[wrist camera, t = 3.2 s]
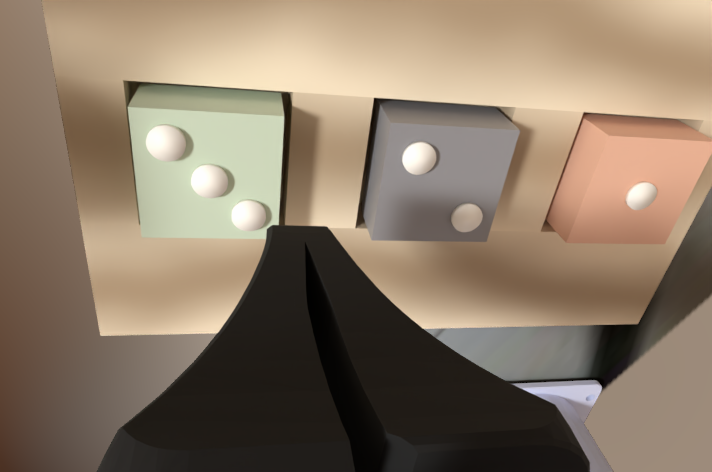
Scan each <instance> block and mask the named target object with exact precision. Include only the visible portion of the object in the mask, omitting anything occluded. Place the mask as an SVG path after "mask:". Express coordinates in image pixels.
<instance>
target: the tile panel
mask: <svg viewBox="0 0 712 472" xmlns="http://www.w3.org/2000/svg"><path fill="white" fill-rule="evenodd" d="M41 2H42V7H43V13H44V19H45V24H46V30H47V35H48V41H49V46H50V53H51V58H52V63H53V70H54V75H55V80H56V87H57V92H58V98H59V104H60V109H61V114H62V121H63V126H64V132H65V138H66V143H67V149H68V154H69V160H70V166H71V171H72V177H73V183H74V188H75V194H76V200H77V205H78V211H79V216H80V222H81V228H82V233H83V239H84V245H85V251H86V256H87V261H88V267H89V273H90V279H91V284H92V290H93V296H94V301H95V307H96V312H97V318H98V324H99V330H100V335H101V336H109V335H155V334H198V333H199V334H200V333H201V334H202V333H218V332H219V331H220V329H221V328H222V326H223V325H224V324H225V322H226V321H227V319H228V318H229V316H230V315H231V314H232V312H233V310H234V309H235V307H236V306H237V304H238V302H239V301H240V299H241V297H242V295H243V293H244V292H245V290H246V288H247V286H248V284H249V283H250V281H251V279H252V277H253V274H254V272H255V270H256V268H257V265H258V263H259V261H260V258H261V255H262V252H263V250H264V246H265V242H266V239H220V238H144V237H142V235H141V226H140V217H139V208H138V198H137V189H136V180H135V170H134V161H133V152H132V142H131V133H130V124H129V114H128V106H129V104H130V102H131V100H132V98H133V96H134V95H135V93H136V91H137V89H138V87H139V85H140V84H141V83H148V84H162V85H177V86H192V87H206V88H221V89H235V90H250V91H265V92H279V93H281V97H282V103H283V110H284V133H283V152H282V170H281V189H280V208H279V225H294V226H327V227H328V228H329V229H330V230H331V231H332V233H333V234H334V235H335V237H336V238H337V240H338V241H339V242H340V243H341V245H342V246H343V247H344V249H345V250H346V251H347V253H348V254H349V255H350V256H351V258H352V259H353V260H354V261H355V263H356V264H357V265H358V266H359V267H360V268H361V270H362V271H363V272H364V273H365V274H366V275H367V276H368V278H369V279H370V280H371V281H372V282H373V283H374V284H375V285H376V286H377V288H378V289H379V290H380V291H381V292H382V293H383V294H384V295H385V296H386V297H387V298H388V299H389V300H390V301H391V302H392V303H393V304H394V305H396V306H397V307H398V308H399V309H400V310H401V311H402V312H403V313H405V314H406V315H407V316H408V317H409V318H411V319H412V320H413V321H414V322H416V323H417V324H418V325H419V326H420V327H422V328H423V329H431V328H477V327H523V326H569V325H614V324H638V323H639V321H640V319H641V317H642V315H643V313H644V312H645V310H646V308H647V306H648V304H649V302H650V300H651V298H652V297H653V295H654V293H655V291H656V289H657V287H658V285H659V283H660V282H661V280H662V278H663V276H664V274H665V272H666V270H667V269H668V267H669V265H670V263H671V261H672V259H673V257H674V255H675V254H676V252H677V250H678V248H679V246H680V244H681V242H682V240H683V239H684V237H685V235H686V233H687V231H688V229H689V227H690V225H691V224H692V222H693V220H694V218H695V216H696V214H697V212H698V210H699V209H700V207H701V205H702V203H703V201H704V199H705V197H706V196H707V194H708V192H709V190H710V188H711V186H712V154H711V156H710V158H709V160H708V161H707V163H706V165H705V167H704V169H703V171H702V173H701V175H700V177H699V179H698V181H697V183H696V185H695V187H694V189H693V191H692V192H691V194H690V196H689V198H688V200H687V202H686V204H685V206H684V208H683V210H682V212H681V214H680V216H679V218H678V220H677V222H676V224H675V225H674V227H673V229H672V231H671V233H670V235H669V237H668V239H667V241H666V243H665V244H602V243H566V242H565V241H564V240H563V239H562V238H561V237H560V235H559V234H558V233H557V232H556V231H555V230H554V229H553V227H552V226H551V225H550V224H549V223H548V222H547V221H546V219H545V218H546V215H547V212H548V210H549V207H550V204H551V201H552V198H553V196H554V193H555V190H556V187H557V185H558V182H559V179H560V176H561V174H562V171H563V168H564V165H565V163H566V160H567V157H568V154H569V151H570V149H571V146H572V143H573V140H574V138H575V135H576V132H577V129H578V127H579V124H580V121H581V118H582V116H583V113H586V114H601V115H615V116H630V117H644V118H659V119H674V120H678V121H680V122H682V123H684V124H686V125H687V126H689V127H691V128H693V129H695V130H696V131H698V132H700V133H702V134H704V135H705V136H707V137H709V138H711V139H712V0H41ZM377 99H381V100H396V101H411V102H425V103H440V104H454V105H469V106H484V107H495V108H496V109H497V110H499V111H500V112H501V113H502V114H503V115H504V116H505V117H506V118H507V119H508V120H509V121H511V122H512V123H513V124H514V125H515V126H516V127H517V128H518V129H519V130H520V133H519V136H518V139H517V143H516V146H515V149H514V153H513V156H512V159H511V163H510V166H509V169H508V173H507V176H506V179H505V182H504V186H503V189H502V192H501V196H500V199H499V202H498V206H497V209H496V212H495V216H494V219H493V222H492V225H491V229H490V232H489V235H488V239H487V242H449V241H373V240H371V238H370V235H369V232H368V229H367V226H366V223H365V220H364V217H363V214H362V211H361V205H362V199H363V192H364V185H365V178H366V171H367V165H368V158H369V151H370V144H371V137H372V131H373V124H374V117H375V110H376V103H377Z"/></svg>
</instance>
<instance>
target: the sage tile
mask: <svg viewBox="0 0 712 472" xmlns="http://www.w3.org/2000/svg"><path fill="white" fill-rule="evenodd" d="M128 114H129V124H130V133H131V142H132V152H133V161H134V170H135V180H136V189H137V198H138V208H139V217H140V226H141V235H142V237H144V238H220V239H266V233H267V229H268V228H269V227H270V226H272V225H279V208H280V189H281V170H282V152H283V133H284V110H283V103H282V97H281V93H279V92H265V91H250V90H235V89H221V88H206V87H192V86H177V85H162V84H148V83H141V84H140V85H139V87H138V89H137V91H136V93H135V95H134V96H133V98H132V100H131V102H130V104H129V106H128Z"/></svg>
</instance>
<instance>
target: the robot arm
mask: <svg viewBox="0 0 712 472" xmlns="http://www.w3.org/2000/svg"><path fill="white" fill-rule="evenodd" d="M601 390H602V386H601V385H600V383H599V382H598V381H597V380H582V381H560V382H538V383H516V384H511V383H508V382H507V381H505V380H503V379H501V378H499V377H497V376H495V375H494V374H492V373H490V372H488V371H487V370H485V369H483V368H481V367H479V366H478V365H476V364H474V363H473V362H471V361H469V360H468V359H466V358H465V357H463V356H461V355H460V354H458V353H457V352H455V351H454V350H452V349H451V348H449V347H448V346H446V345H445V344H443V343H442V342H441V341H439V340H438V339H436V338H435V337H433V336H432V335H431V334H429V333H428V332H427V331H425V330H424V329H423V328H422V327H420V326H419V325H418V324H417V323H416V322H414V321H413V320H412V319H411V318H409V317H408V316H407V315H406V314H405V313H403V312H402V311H401V310H400V309H399V308H398V307H397V306H396V305H394V304H393V303H392V302H391V301H390V300H389V299H388V298H387V297H386V296H385V295H384V294H383V293H382V292H381V291H380V290H379V289H378V288H377V286H376V285H375V284H374V283H373V282H372V281H371V280H370V279H369V278H368V276H367V275H366V274H365V273H364V272H363V271H362V270H361V268H360V267H359V266H358V265H357V264H356V263H355V261H354V260H353V259H352V258H351V256H350V255H349V254H348V253H347V251H346V250H345V249H344V247H343V246H342V245H341V243H340V242H339V241H338V240H337V238H336V237H335V235H334V234H333V233H332V231H331V230H330V229H329V228H328V227H327V226H294V225H272V226H270V227H269V228H268V229H267V233H266V242H265V246H264V250H263V252H262V255H261V258H260V261H259V263H258V265H257V268H256V270H255V272H254V274H253V277H252V279H251V281H250V283H249V284H248V286H247V288H246V290H245V292H244V293H243V295H242V297H241V299H240V301H239V302H238V304H237V306H236V307H235V309H234V310H233V312H232V314H231V315H230V316H229V318H228V319H227V321H226V322H225V324H224V325H223V326H222V328H221V329H220V331H219V332H218V333H217V335H216V336H215V337H214V338H213V340H212V341H211V342H210V343H209V345H208V346H207V347H206V348H205V349H204V351H203V352H202V353H201V354H200V355H199V356H198V358H197V359H196V360H195V361H194V362H193V363H192V364H191V365H190V366H189V367H188V368H187V369H186V370H185V371H184V372H183V373H182V374H181V375H180V376H179V377H178V378H177V379H176V380H175V381H174V382H173V383H172V384H171V385H170V386H169V387H168V388H167V389H166V390H165V391H164V392H163V393H162V394H161V395H160V396H159V397H157V398H156V399H155V400H154V401H153V402H152V403H150V404H149V405H148V406H147V407H145V408H144V409H143V410H142V411H141V412H140V413H138V414H137V415H136V416H135V417H133V418H132V419H131V420H130V421H129V422H127V423H126V424H125V425H124V426H122V427H121V428H120V429H119V430H118V432H117V433H116V435H115V437H114V439H113V441H112V442H111V444H110V446H109V448H108V450H107V452H106V454H105V456H104V458H103V460H102V462H101V464H100V466H99V468H98V470H97V472H613V470H612V468H611V467H610V465H609V464H608V462H607V460H606V459H605V457H604V455H603V454H602V452H601V451H600V449H599V447H598V446H597V444H596V442H595V441H594V439H593V437H592V436H591V434H590V433H589V431H588V430H587V428H586V427H585V425H584V422H585V420H586V419H587V417H588V415H589V413H590V411H591V409H592V407H593V405H594V404H595V402H596V400H597V398H598V396H599V394H600V392H601Z"/></svg>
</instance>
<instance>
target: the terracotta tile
mask: <svg viewBox="0 0 712 472" xmlns="http://www.w3.org/2000/svg"><path fill="white" fill-rule="evenodd" d="M711 154H712V139H711V138H709V137H707V136H705V135H704V134H702V133H700V132H698V131H696V130H695V129H693V128H691V127H689V126H687V125H686V124H684V123H682V122H680V121H678V120H674V119H659V118H644V117H630V116H615V115H601V114H586V113H583V116H582V118H581V121H580V124H579V127H578V129H577V132H576V135H575V138H574V140H573V143H572V146H571V149H570V151H569V154H568V157H567V160H566V163H565V165H564V168H563V171H562V174H561V176H560V179H559V182H558V185H557V187H556V190H555V193H554V196H553V198H552V201H551V204H550V207H549V210H548V212H547V215H546V218H545V219H546V221H547V222H548V223H549V224H550V225H551V226H552V227H553V229H554V230H555V231H556V232H557V233H558V234H559V235H560V237H561V238H562V239H563V240H564V241H565V242H566V243H602V244H665V243H666V241H667V239H668V237H669V235H670V233H671V231H672V229H673V227H674V225H675V224H676V222H677V220H678V218H679V216H680V214H681V212H682V210H683V208H684V206H685V204H686V202H687V200H688V198H689V196H690V194H691V192H692V191H693V189H694V187H695V185H696V183H697V181H698V179H699V177H700V175H701V173H702V171H703V169H704V167H705V165H706V163H707V161H708V160H709V158H710V156H711Z"/></svg>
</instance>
